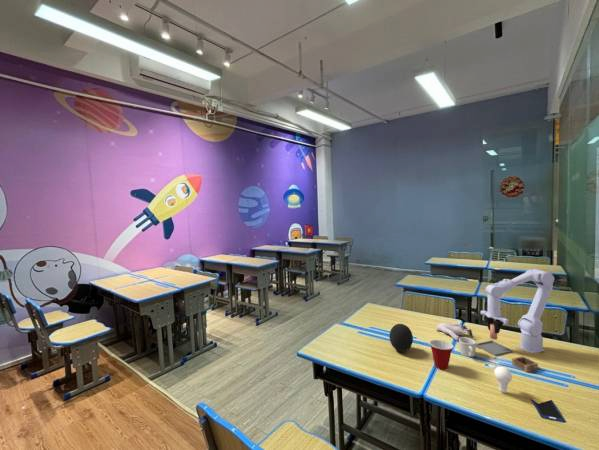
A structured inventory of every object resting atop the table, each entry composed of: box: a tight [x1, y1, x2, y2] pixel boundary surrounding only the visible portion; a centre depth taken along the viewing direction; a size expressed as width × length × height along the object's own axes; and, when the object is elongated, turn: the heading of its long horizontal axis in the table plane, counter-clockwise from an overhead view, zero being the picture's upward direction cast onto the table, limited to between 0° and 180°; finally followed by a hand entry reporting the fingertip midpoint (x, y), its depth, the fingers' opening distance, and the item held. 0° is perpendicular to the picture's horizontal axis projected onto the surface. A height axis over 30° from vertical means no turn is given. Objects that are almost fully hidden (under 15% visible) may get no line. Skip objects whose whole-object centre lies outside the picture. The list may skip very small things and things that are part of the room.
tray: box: [476, 339, 514, 357], centre depth 153 cm, size 12×12×2 cm
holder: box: [511, 356, 539, 373], centre depth 136 cm, size 7×7×4 cm
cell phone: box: [530, 398, 566, 424], centre depth 110 cm, size 7×14×1 cm, turn 156°
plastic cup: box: [428, 339, 454, 371], centre depth 139 cm, size 11×11×12 cm
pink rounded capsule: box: [489, 323, 498, 340], centre depth 153 cm, size 3×3×8 cm
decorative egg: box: [388, 323, 414, 352], centre depth 156 cm, size 12×12×15 cm
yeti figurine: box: [435, 322, 473, 343], centre depth 174 cm, size 20×7×20 cm
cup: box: [458, 336, 477, 358], centre depth 148 cm, size 11×8×8 cm
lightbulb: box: [493, 366, 513, 394], centre depth 119 cm, size 6×6×11 cm
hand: (493, 331), depth 153 cm, fingers closed on pink rounded capsule, 3 cm apart
